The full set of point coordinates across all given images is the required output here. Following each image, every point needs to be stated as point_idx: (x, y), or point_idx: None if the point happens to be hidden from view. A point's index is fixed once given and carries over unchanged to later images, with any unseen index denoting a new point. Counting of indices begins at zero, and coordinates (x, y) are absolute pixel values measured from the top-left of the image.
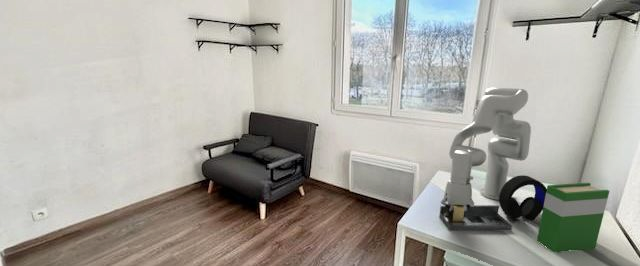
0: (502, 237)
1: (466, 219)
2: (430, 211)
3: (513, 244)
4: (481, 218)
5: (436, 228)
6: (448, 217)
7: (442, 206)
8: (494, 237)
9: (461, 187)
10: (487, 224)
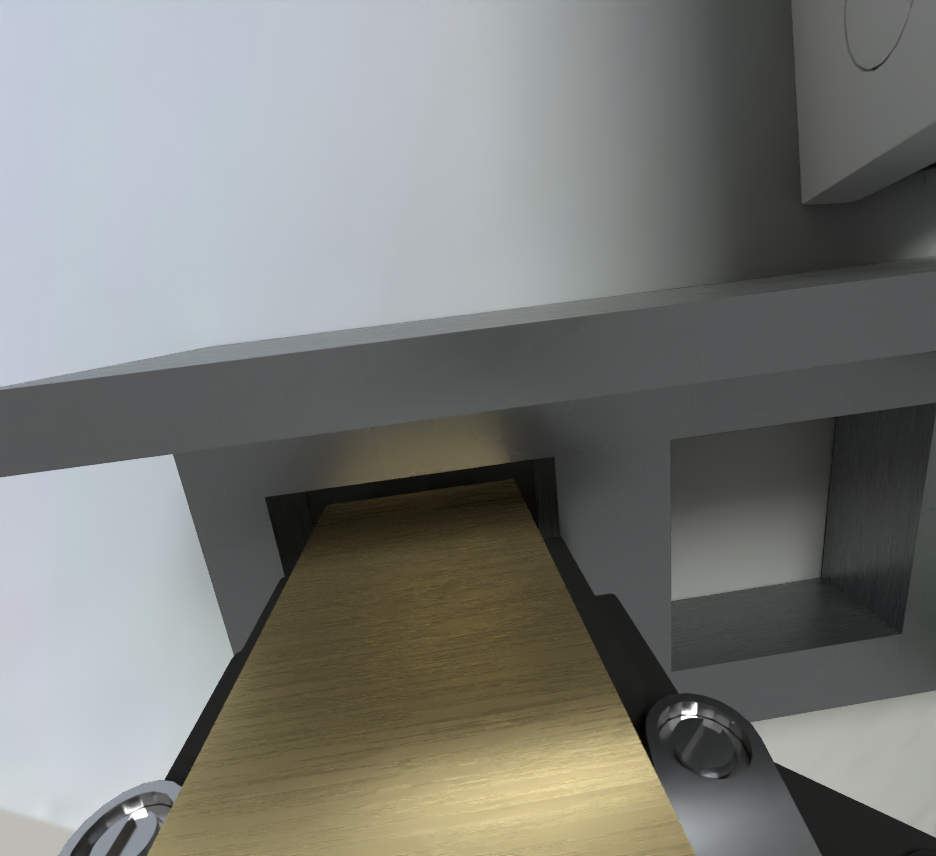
0: (900, 732)
1: (635, 584)
2: (30, 110)
3: (922, 822)
4: (928, 506)
5: (122, 701)
6: (321, 523)
7: (46, 470)
8: (810, 749)
9: None
10: (900, 676)
